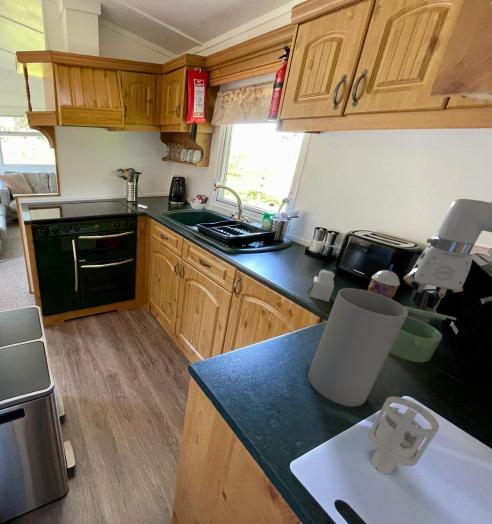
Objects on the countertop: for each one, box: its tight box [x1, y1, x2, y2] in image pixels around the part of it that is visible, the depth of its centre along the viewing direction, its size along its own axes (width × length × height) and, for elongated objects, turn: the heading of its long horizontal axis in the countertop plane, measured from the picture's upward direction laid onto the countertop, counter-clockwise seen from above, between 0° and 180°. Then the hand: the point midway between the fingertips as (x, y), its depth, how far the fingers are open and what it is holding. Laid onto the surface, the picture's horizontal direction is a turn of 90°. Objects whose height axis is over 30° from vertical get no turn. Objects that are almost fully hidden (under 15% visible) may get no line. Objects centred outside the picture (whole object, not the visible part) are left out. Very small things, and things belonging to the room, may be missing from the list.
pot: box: [389, 315, 443, 363], centre depth 89 cm, size 14×19×8 cm
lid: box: [403, 290, 457, 321], centre depth 84 cm, size 15×15×7 cm
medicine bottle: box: [308, 267, 337, 303], centre depth 119 cm, size 7×7×12 cm
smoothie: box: [366, 263, 401, 300], centre depth 108 cm, size 8×8×20 cm
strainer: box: [368, 396, 440, 475], centre depth 52 cm, size 7×7×15 cm
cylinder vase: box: [307, 287, 409, 408], centre depth 68 cm, size 12×12×25 cm
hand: (421, 304), depth 85 cm, fingers closed on lid, 2 cm apart
